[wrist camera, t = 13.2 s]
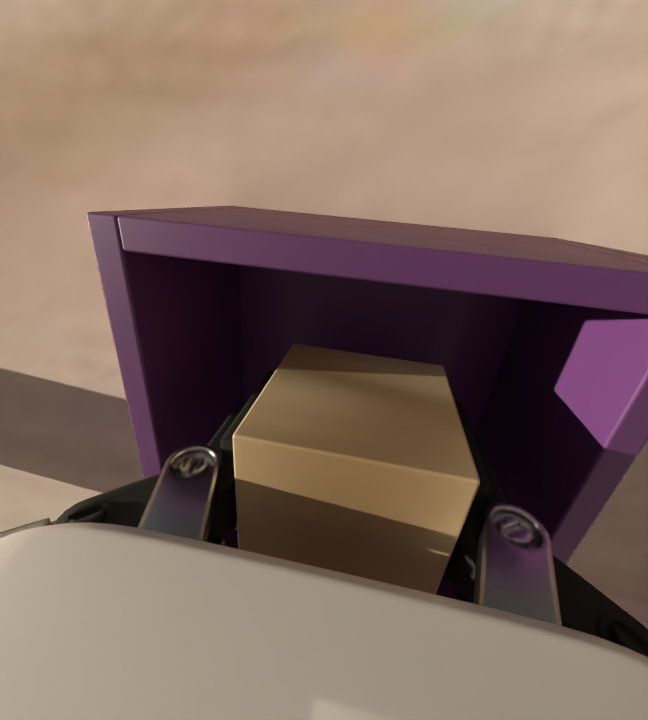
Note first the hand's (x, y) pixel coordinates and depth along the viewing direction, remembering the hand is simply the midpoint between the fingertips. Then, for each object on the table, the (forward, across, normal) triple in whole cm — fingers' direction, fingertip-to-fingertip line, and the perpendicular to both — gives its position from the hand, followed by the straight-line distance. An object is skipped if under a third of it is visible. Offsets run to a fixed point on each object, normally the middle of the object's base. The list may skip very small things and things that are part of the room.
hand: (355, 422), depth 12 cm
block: (0, 0, 0) cm, 0 cm away
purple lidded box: (+5, 0, +2) cm, 6 cm away
